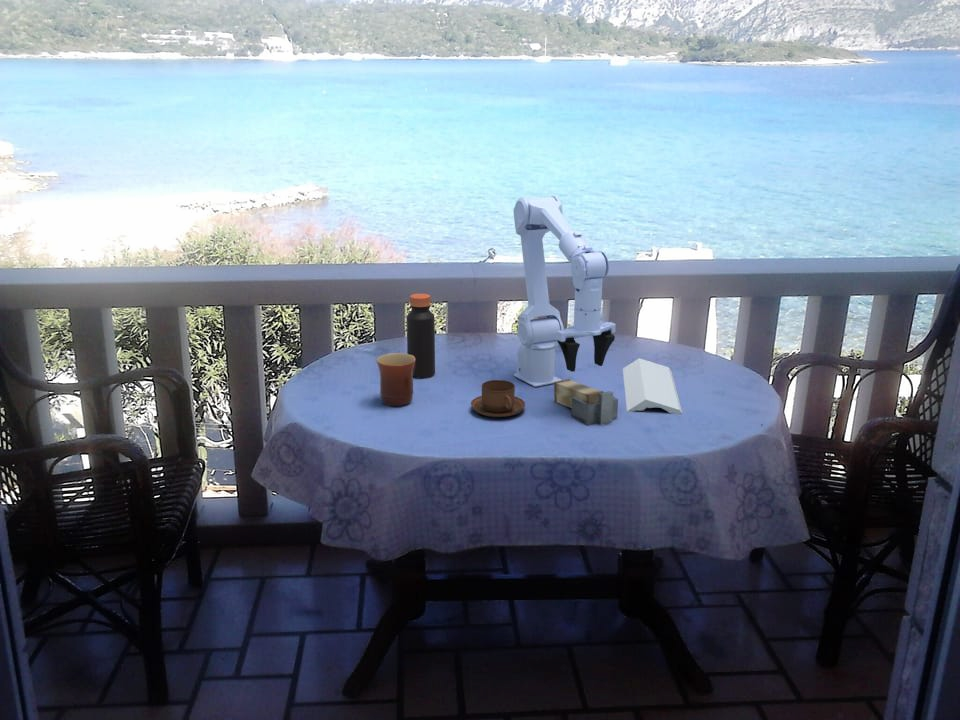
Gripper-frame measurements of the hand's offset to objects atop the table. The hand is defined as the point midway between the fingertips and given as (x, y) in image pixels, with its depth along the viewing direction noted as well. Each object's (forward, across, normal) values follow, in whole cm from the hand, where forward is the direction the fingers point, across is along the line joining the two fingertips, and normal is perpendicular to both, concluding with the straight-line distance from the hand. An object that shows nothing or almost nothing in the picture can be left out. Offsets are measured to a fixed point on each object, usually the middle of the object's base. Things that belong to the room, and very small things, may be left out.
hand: (584, 367), depth 195 cm
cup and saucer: (+10, -17, +8) cm, 22 cm away
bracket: (+10, -1, -6) cm, 11 cm away
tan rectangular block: (+9, -1, +1) cm, 9 cm away
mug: (+10, -33, +25) cm, 43 cm away
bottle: (+10, -21, +38) cm, 45 cm away
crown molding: (+11, +22, +2) cm, 24 cm away
